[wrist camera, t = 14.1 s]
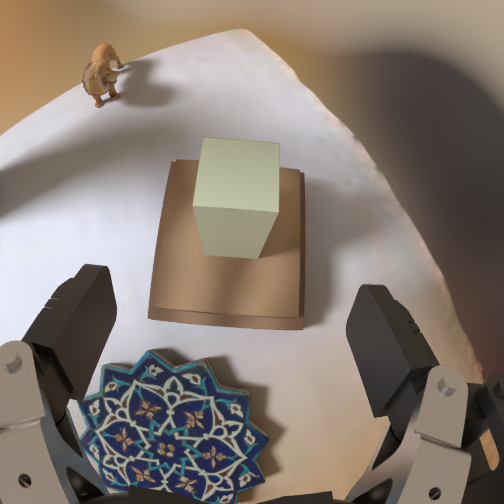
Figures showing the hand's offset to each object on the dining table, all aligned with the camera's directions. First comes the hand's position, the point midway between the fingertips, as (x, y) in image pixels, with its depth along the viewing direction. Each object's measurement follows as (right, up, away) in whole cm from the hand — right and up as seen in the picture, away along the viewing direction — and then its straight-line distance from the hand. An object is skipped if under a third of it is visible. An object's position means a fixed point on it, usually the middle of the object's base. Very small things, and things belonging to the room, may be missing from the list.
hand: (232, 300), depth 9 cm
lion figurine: (-21, +26, +26) cm, 42 cm away
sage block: (-1, +3, +16) cm, 17 cm away
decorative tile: (-8, -18, +16) cm, 25 cm away
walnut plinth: (-2, +2, +21) cm, 21 cm away
